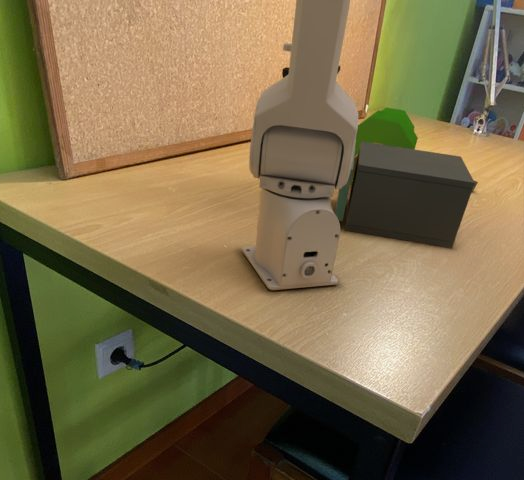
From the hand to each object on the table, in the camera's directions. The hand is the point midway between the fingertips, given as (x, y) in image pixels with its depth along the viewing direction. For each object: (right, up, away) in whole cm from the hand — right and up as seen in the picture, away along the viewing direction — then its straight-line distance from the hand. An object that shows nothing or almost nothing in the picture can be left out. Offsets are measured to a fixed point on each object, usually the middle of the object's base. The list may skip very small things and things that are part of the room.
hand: (304, 127), depth 67 cm
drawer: (+9, -10, +4) cm, 14 cm away
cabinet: (+13, -12, +4) cm, 18 cm away
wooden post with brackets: (+28, -4, +18) cm, 33 cm away
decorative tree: (+15, +1, +22) cm, 26 cm away
